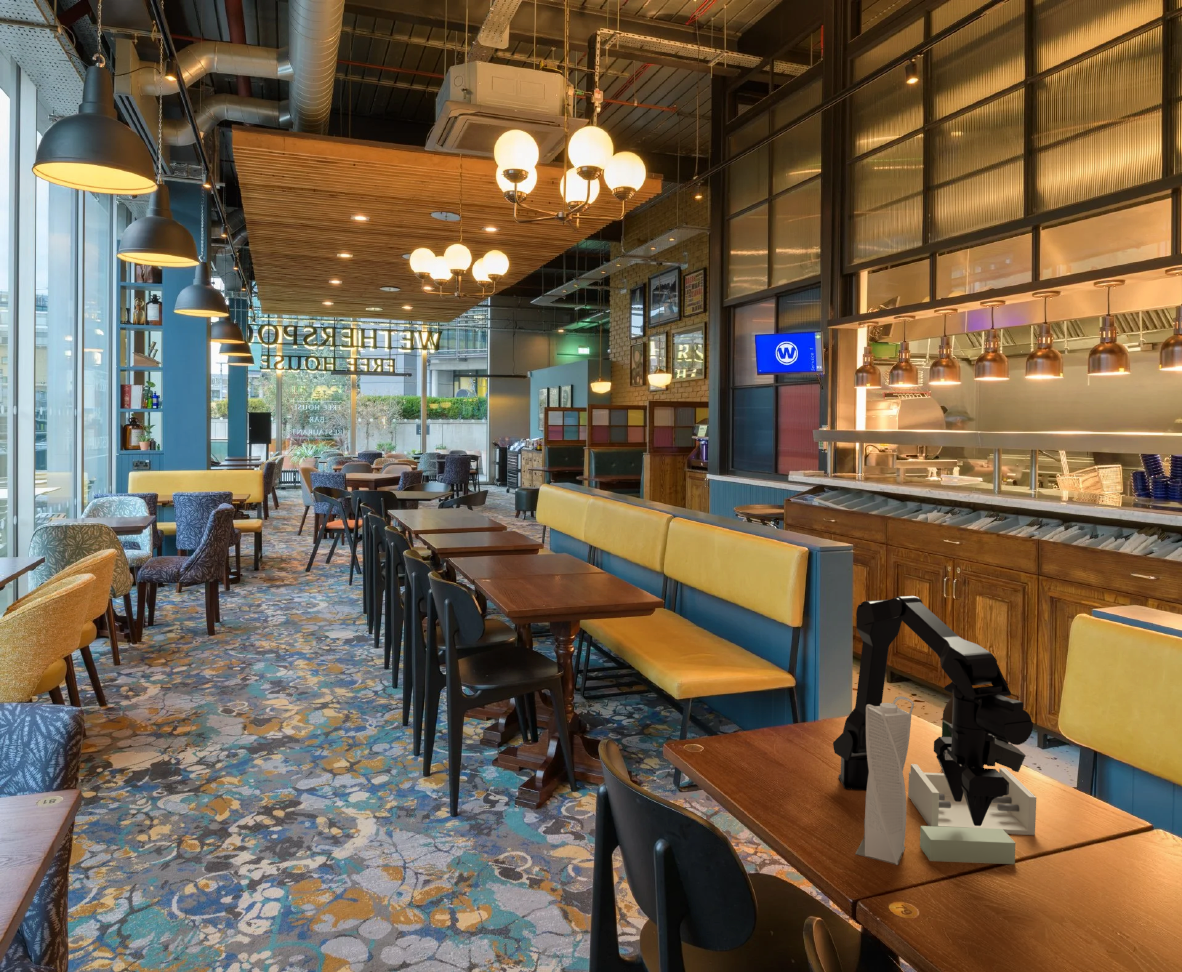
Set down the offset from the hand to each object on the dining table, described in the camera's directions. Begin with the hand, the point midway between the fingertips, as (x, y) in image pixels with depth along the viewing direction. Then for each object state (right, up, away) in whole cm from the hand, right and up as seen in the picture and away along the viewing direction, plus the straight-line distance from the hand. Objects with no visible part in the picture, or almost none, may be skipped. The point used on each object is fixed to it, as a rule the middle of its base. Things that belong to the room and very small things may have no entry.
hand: (967, 812), depth 140 cm
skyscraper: (-14, -8, +1) cm, 16 cm away
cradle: (+7, -7, +15) cm, 18 cm away
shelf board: (0, -8, 0) cm, 8 cm away
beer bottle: (+15, -6, +37) cm, 40 cm away
